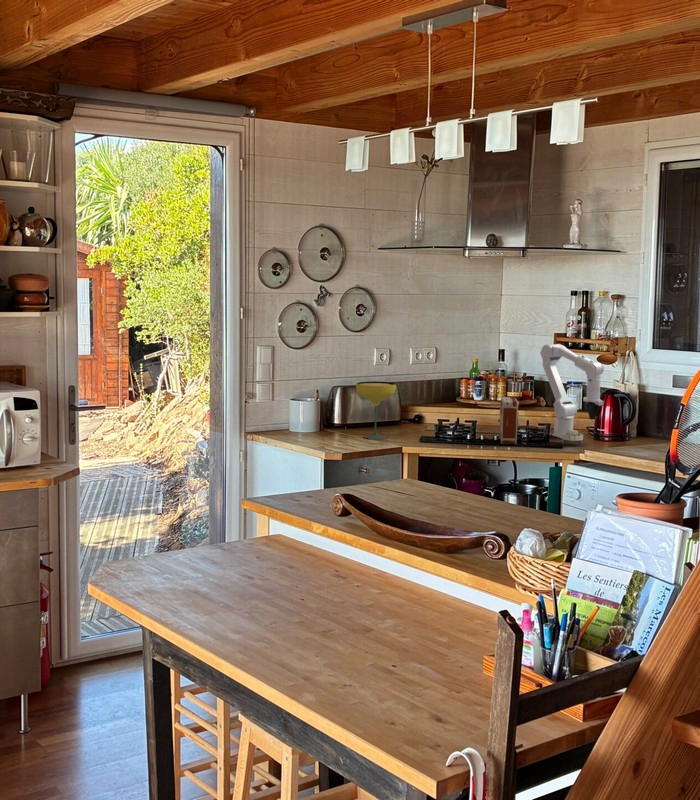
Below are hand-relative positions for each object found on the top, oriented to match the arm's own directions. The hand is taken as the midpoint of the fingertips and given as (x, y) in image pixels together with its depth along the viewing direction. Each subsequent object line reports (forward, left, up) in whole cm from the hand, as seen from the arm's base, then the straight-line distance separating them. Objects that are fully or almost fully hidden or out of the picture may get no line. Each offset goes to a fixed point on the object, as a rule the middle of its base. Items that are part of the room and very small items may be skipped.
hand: (592, 419), depth 454 cm
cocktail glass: (-31, -93, -11) cm, 99 cm away
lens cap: (+4, -12, -8) cm, 15 cm away
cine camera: (-9, -37, -11) cm, 40 cm away
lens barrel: (+4, -12, -10) cm, 16 cm away
